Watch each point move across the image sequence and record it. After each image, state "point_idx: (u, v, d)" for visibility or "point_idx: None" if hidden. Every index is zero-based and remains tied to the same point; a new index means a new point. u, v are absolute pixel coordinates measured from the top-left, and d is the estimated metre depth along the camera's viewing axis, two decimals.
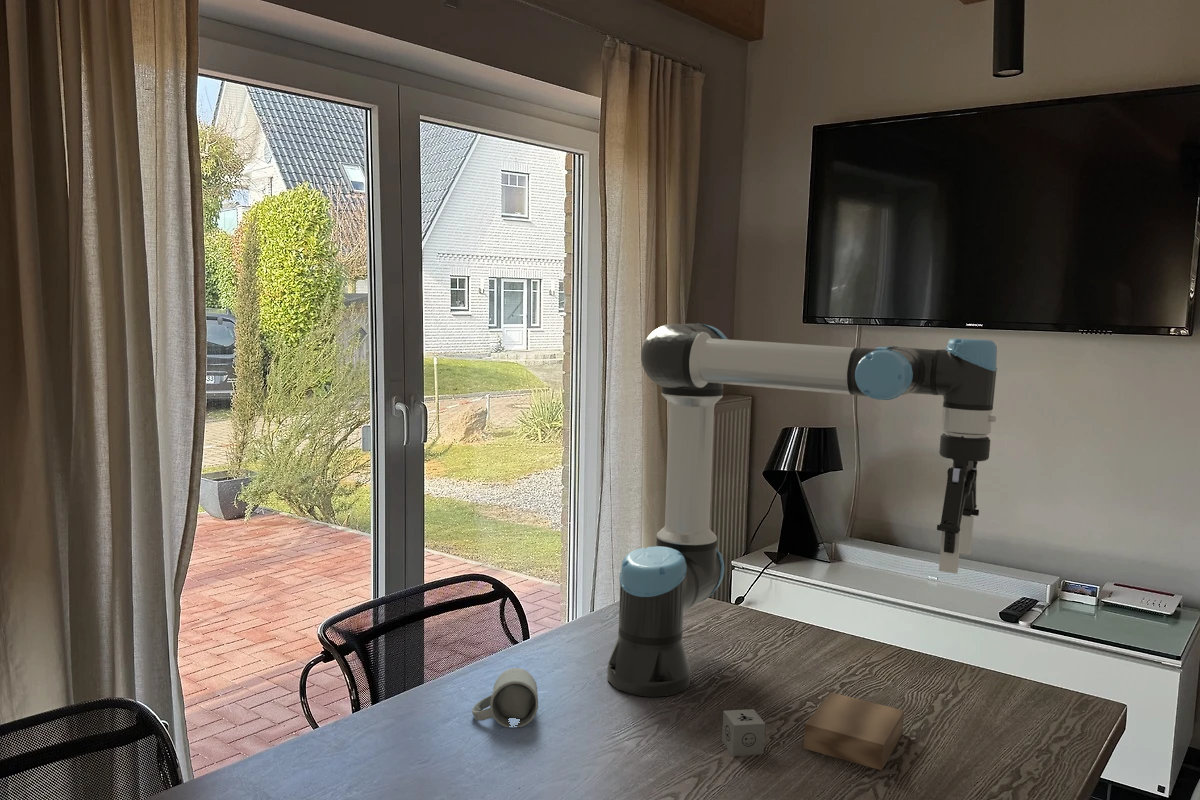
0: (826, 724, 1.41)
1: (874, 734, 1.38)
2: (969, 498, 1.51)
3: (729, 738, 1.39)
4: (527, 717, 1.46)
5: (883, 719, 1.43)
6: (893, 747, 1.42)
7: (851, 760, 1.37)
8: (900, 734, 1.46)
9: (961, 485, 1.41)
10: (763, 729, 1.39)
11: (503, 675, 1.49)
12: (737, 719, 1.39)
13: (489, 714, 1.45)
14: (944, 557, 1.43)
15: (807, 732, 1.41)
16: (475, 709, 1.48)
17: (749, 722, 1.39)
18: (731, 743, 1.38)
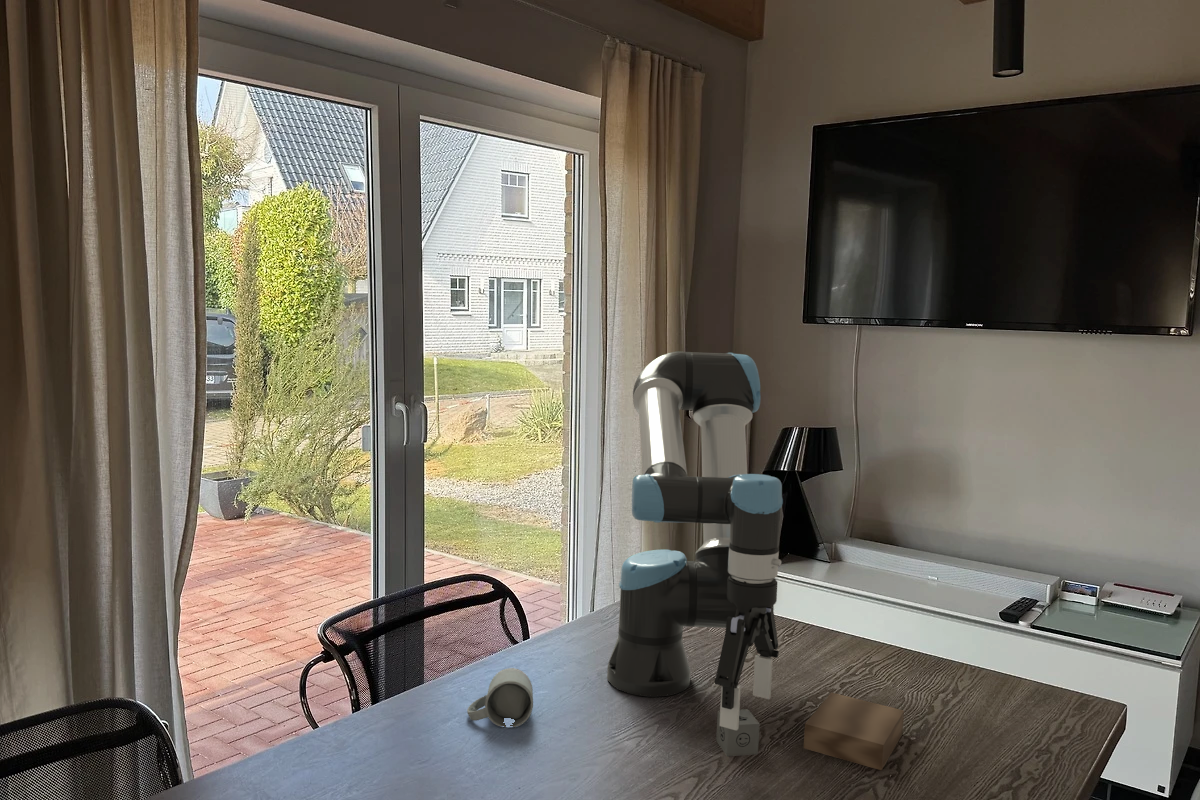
0: (826, 724, 1.41)
1: (874, 734, 1.38)
2: (764, 641, 1.43)
3: (723, 738, 1.39)
4: (522, 717, 1.46)
5: (883, 719, 1.43)
6: (893, 747, 1.42)
7: (851, 760, 1.37)
8: (900, 734, 1.46)
9: (738, 636, 1.32)
10: (757, 729, 1.38)
11: (498, 675, 1.49)
12: None
13: (484, 714, 1.45)
14: (724, 712, 1.34)
15: (807, 732, 1.41)
16: (470, 709, 1.48)
17: (743, 722, 1.39)
18: (725, 743, 1.38)
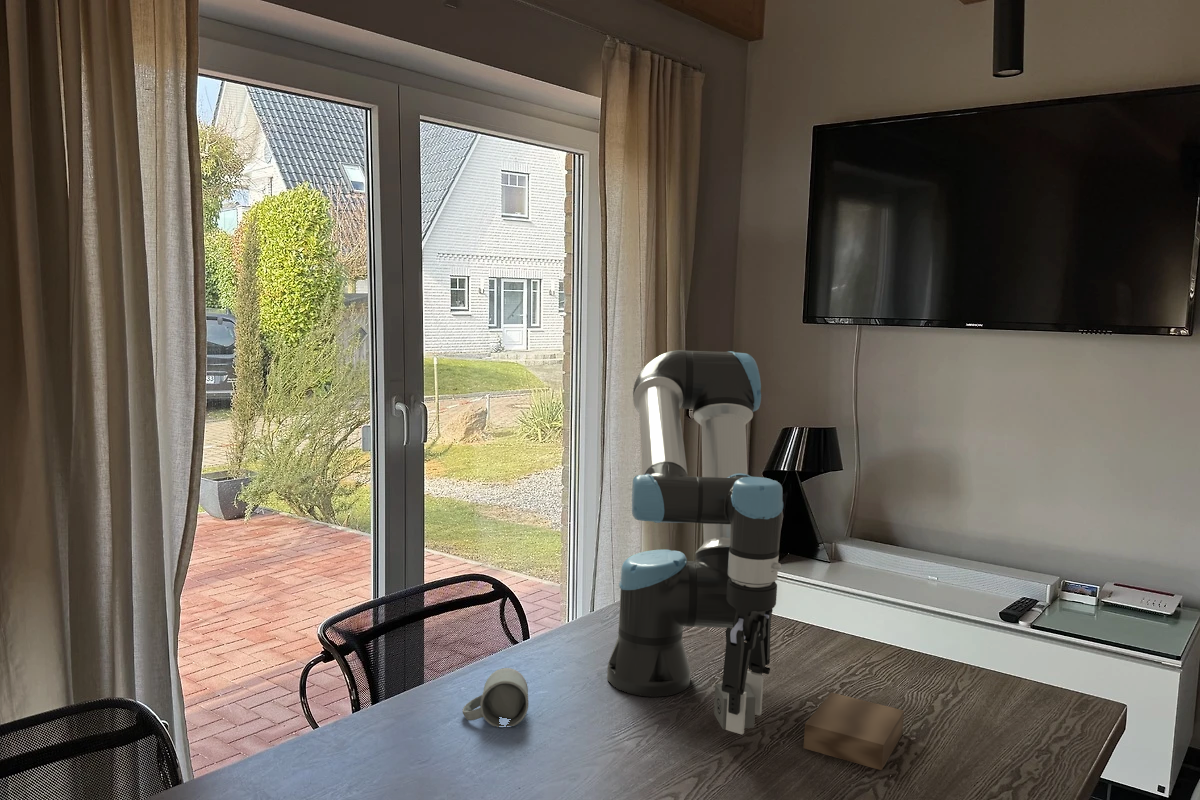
0: (826, 724, 1.41)
1: (874, 734, 1.38)
2: (758, 650, 1.42)
3: (720, 711, 1.41)
4: (517, 717, 1.46)
5: (883, 719, 1.43)
6: (893, 747, 1.42)
7: (851, 760, 1.37)
8: (900, 734, 1.46)
9: (739, 648, 1.33)
10: (753, 702, 1.39)
11: (493, 675, 1.49)
12: None
13: (479, 714, 1.45)
14: (730, 716, 1.38)
15: (807, 732, 1.41)
16: (465, 709, 1.48)
17: None
18: (722, 716, 1.40)
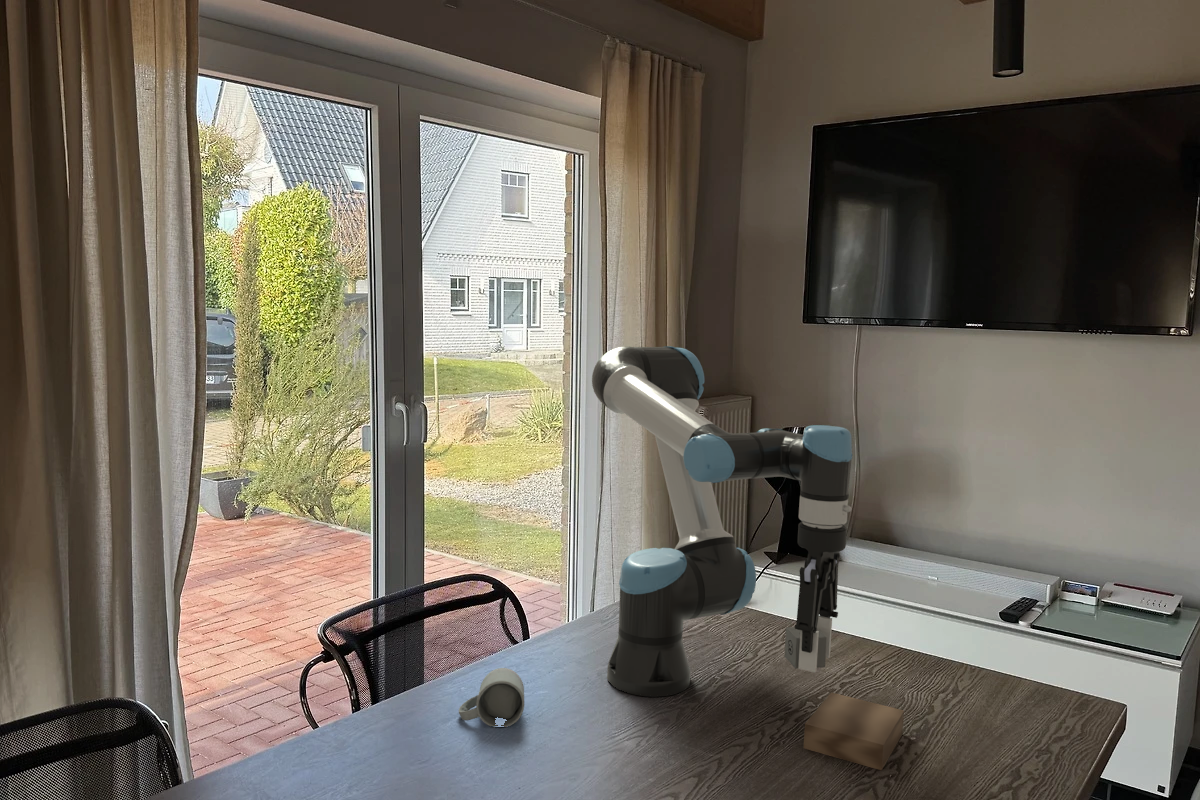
0: (826, 724, 1.41)
1: (874, 734, 1.38)
2: (827, 593, 1.47)
3: (792, 652, 1.46)
4: (513, 717, 1.46)
5: (883, 719, 1.43)
6: (893, 747, 1.42)
7: (851, 760, 1.37)
8: (900, 734, 1.46)
9: (813, 586, 1.39)
10: (824, 642, 1.45)
11: (490, 675, 1.49)
12: (799, 633, 1.46)
13: (475, 714, 1.45)
14: (803, 655, 1.43)
15: (807, 732, 1.41)
16: (461, 709, 1.48)
17: None
18: (794, 656, 1.45)
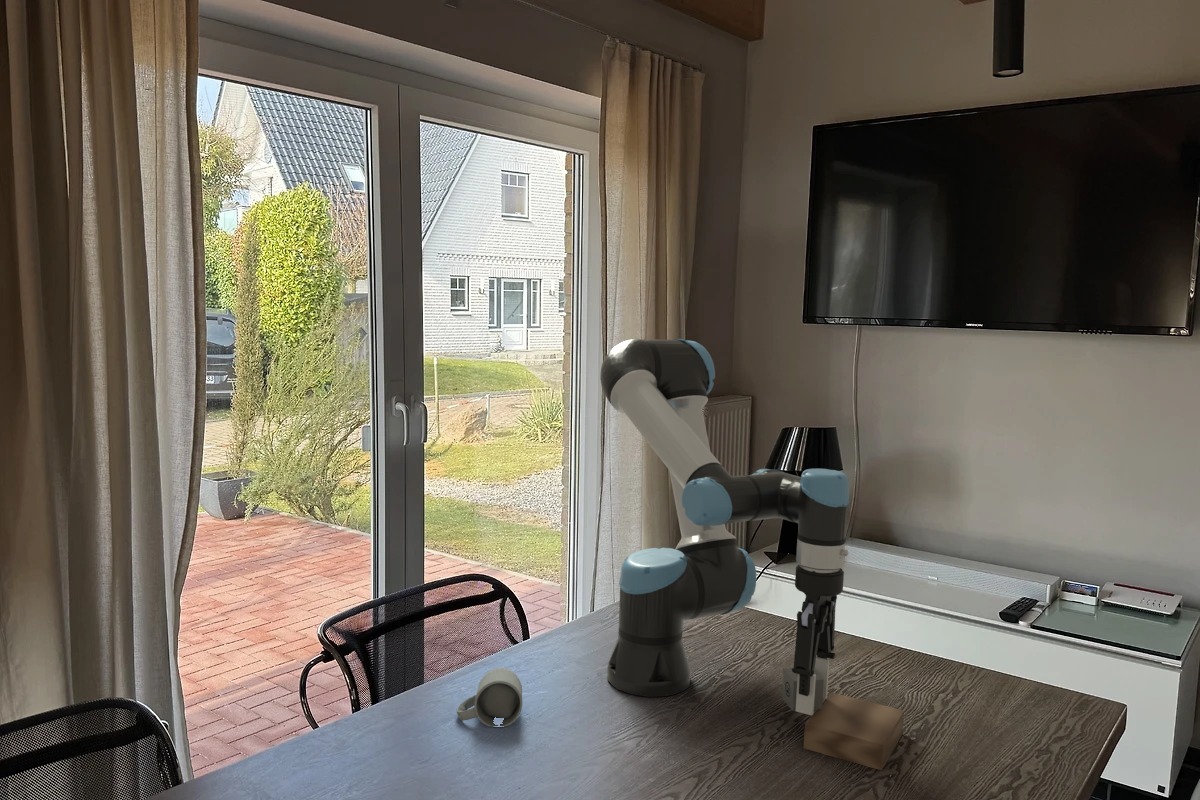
0: (826, 724, 1.41)
1: (874, 734, 1.38)
2: (825, 635, 1.48)
3: (789, 694, 1.47)
4: (511, 717, 1.46)
5: (883, 719, 1.43)
6: (893, 747, 1.42)
7: (851, 760, 1.37)
8: (900, 734, 1.46)
9: (810, 630, 1.40)
10: (822, 685, 1.45)
11: (488, 675, 1.48)
12: (796, 676, 1.47)
13: (473, 714, 1.45)
14: (800, 698, 1.44)
15: (807, 732, 1.41)
16: (459, 709, 1.48)
17: None
18: (791, 698, 1.46)
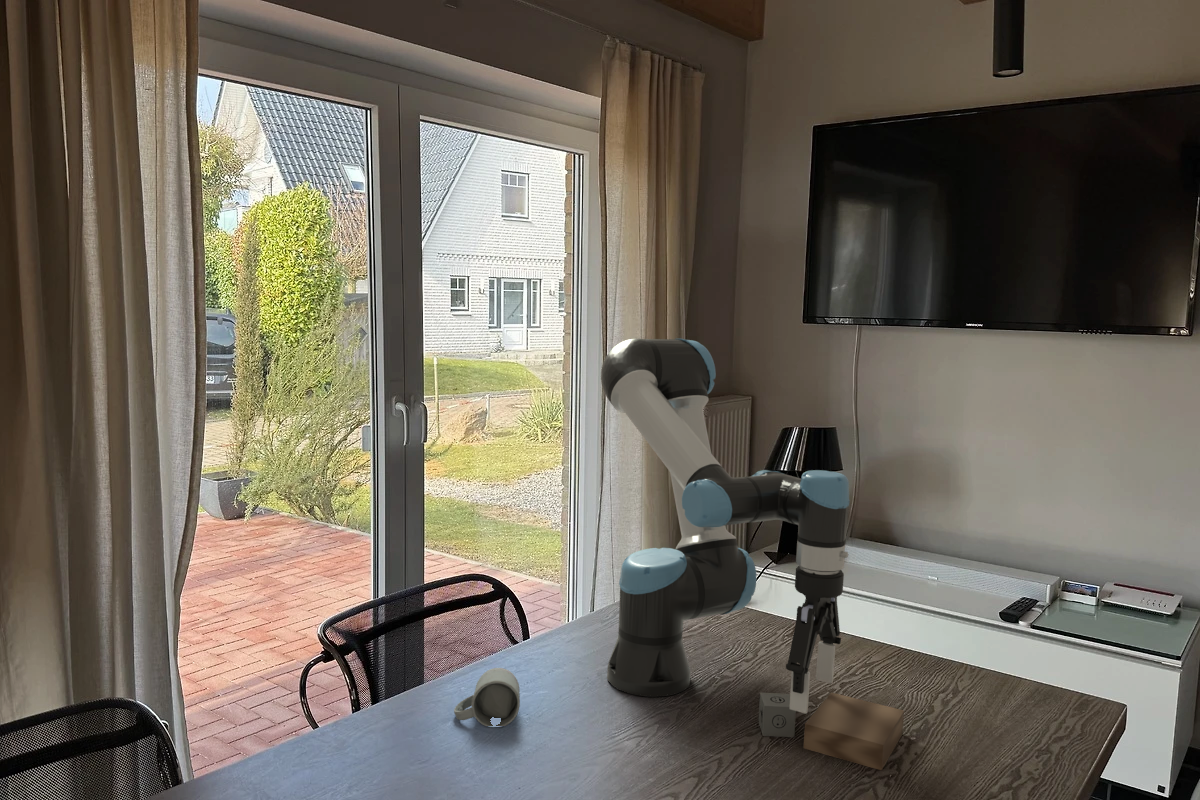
0: (826, 724, 1.41)
1: (874, 734, 1.38)
2: (828, 628, 1.50)
3: None
4: (509, 717, 1.46)
5: (883, 719, 1.43)
6: (893, 747, 1.42)
7: (851, 760, 1.37)
8: (900, 734, 1.46)
9: (809, 625, 1.39)
10: (770, 707, 1.44)
11: (485, 675, 1.48)
12: (761, 723, 1.47)
13: (471, 714, 1.45)
14: (794, 696, 1.41)
15: (807, 732, 1.41)
16: (457, 709, 1.48)
17: (763, 717, 1.45)
18: None
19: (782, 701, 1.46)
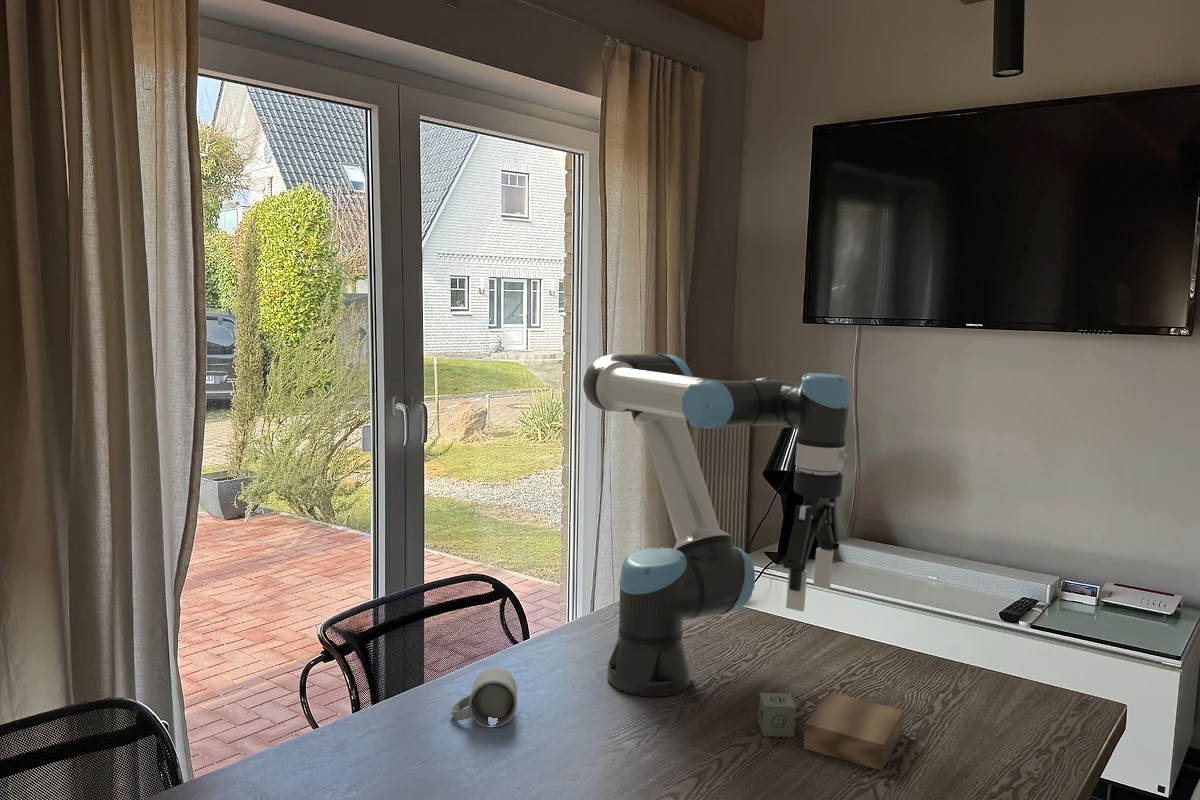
0: (826, 724, 1.41)
1: (874, 734, 1.38)
2: (826, 533, 1.50)
3: None
4: (506, 717, 1.46)
5: (883, 719, 1.43)
6: (893, 747, 1.42)
7: (851, 760, 1.37)
8: (900, 734, 1.46)
9: (807, 523, 1.40)
10: (770, 707, 1.44)
11: (482, 675, 1.48)
12: (761, 723, 1.47)
13: (468, 713, 1.45)
14: (791, 594, 1.42)
15: (807, 732, 1.41)
16: (454, 709, 1.48)
17: (763, 717, 1.45)
18: None
19: (782, 701, 1.46)
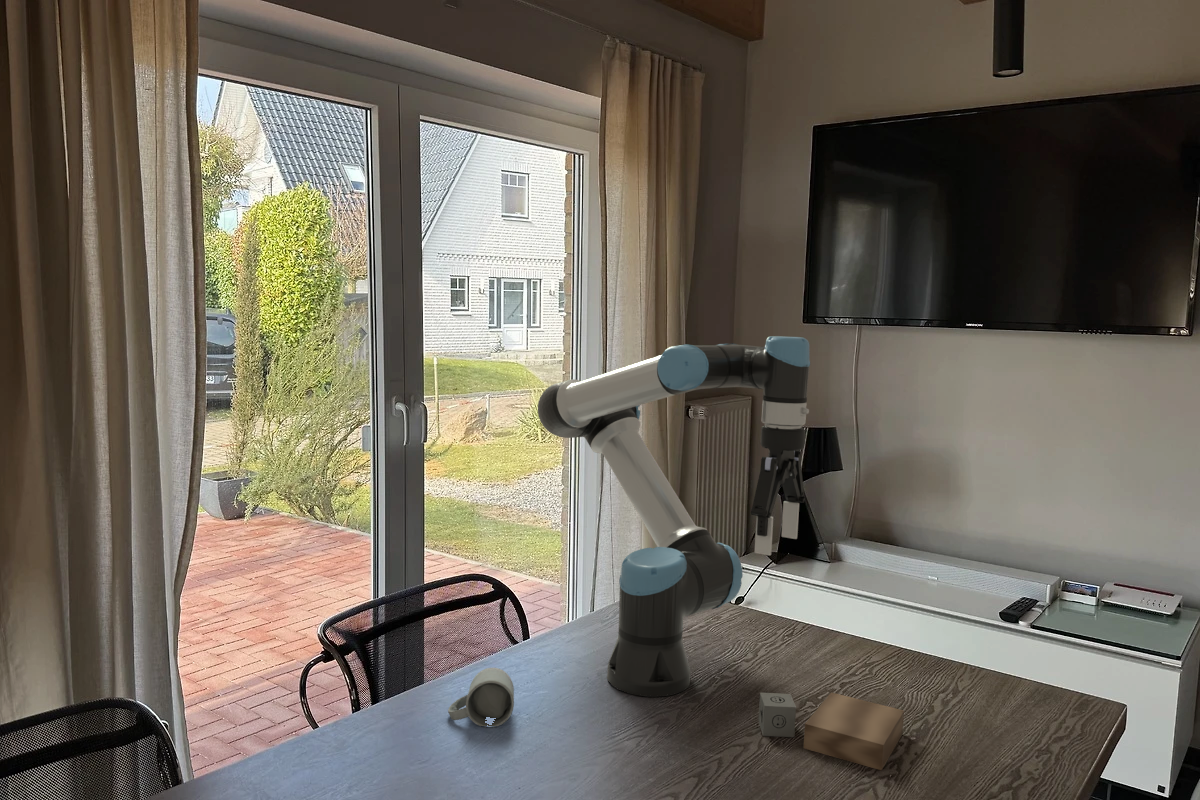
0: (826, 724, 1.41)
1: (874, 734, 1.38)
2: (792, 486, 1.62)
3: None
4: (503, 716, 1.46)
5: (883, 719, 1.43)
6: (893, 747, 1.42)
7: (851, 760, 1.37)
8: (900, 734, 1.46)
9: (772, 473, 1.51)
10: (770, 707, 1.44)
11: (479, 674, 1.48)
12: (761, 723, 1.47)
13: (465, 713, 1.45)
14: (759, 540, 1.53)
15: (807, 732, 1.41)
16: (451, 708, 1.48)
17: (763, 717, 1.45)
18: None
19: (782, 701, 1.46)
